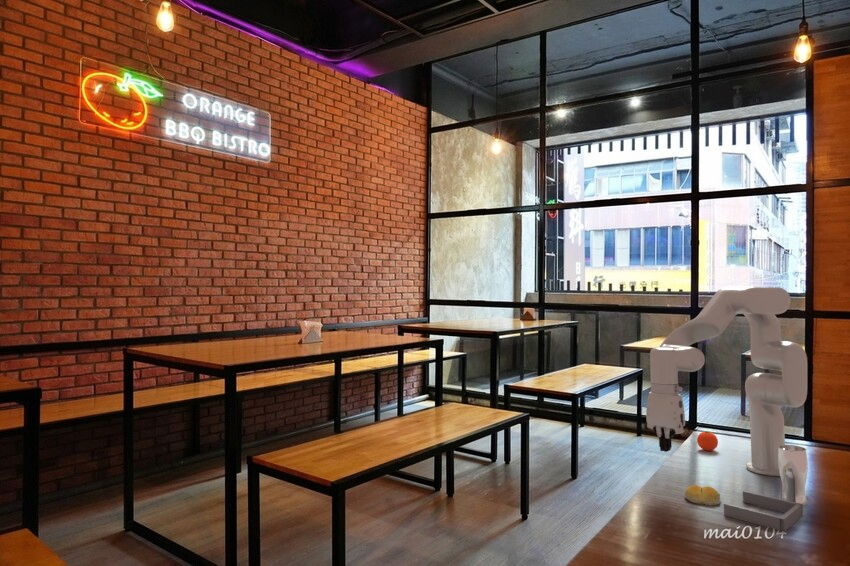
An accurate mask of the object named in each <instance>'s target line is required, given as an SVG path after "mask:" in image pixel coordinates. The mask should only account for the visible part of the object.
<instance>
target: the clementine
mask: <svg viewBox="0 0 850 566" xmlns="http://www.w3.org/2000/svg"><path fill="white" fill-rule="evenodd" d="M696 442H697V445H698V446H699V448H700V449H702V450H703V451H706V450H707V451H706V452H710V451H714V450H715V449H717V447H718V444H719V440H718V438H717V436H716V435H715V434H714V433H713V432H711V431H709V430H706V431H702V432H700V433H699V434H698V435H697V437H696Z"/></svg>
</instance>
